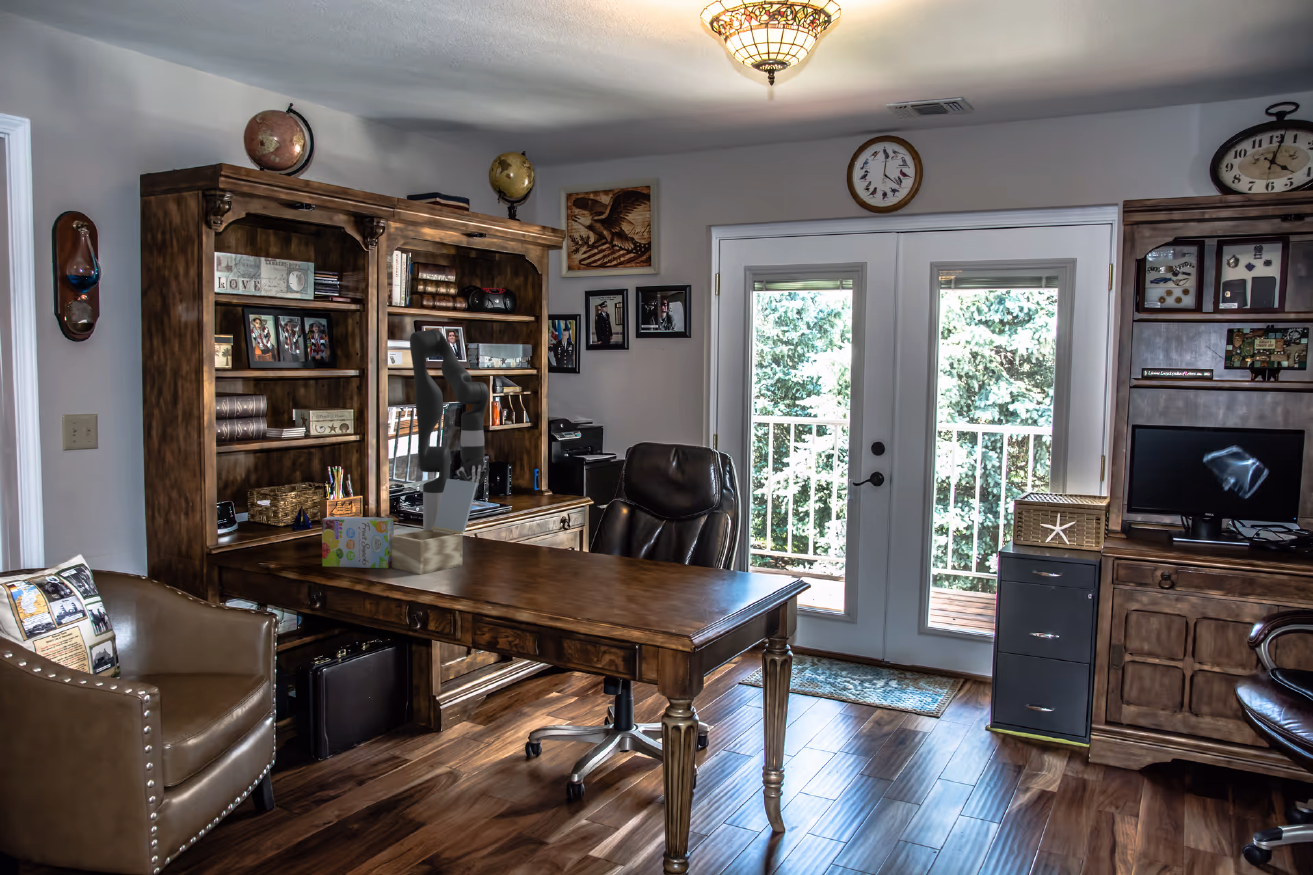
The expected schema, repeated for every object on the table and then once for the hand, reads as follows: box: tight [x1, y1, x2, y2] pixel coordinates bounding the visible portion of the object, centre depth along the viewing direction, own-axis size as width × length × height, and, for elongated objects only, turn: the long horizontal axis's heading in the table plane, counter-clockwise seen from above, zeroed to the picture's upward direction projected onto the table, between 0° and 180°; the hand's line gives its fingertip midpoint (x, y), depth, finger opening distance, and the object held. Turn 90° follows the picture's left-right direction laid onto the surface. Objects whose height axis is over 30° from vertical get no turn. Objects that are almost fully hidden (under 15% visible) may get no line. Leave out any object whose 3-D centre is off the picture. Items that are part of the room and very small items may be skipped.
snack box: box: [321, 516, 395, 569], centre depth 289 cm, size 21×6×15 cm, turn 84°
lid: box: [432, 478, 478, 536], centre depth 296 cm, size 17×14×1 cm
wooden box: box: [391, 529, 464, 575], centre depth 289 cm, size 16×14×10 cm
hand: (472, 497), depth 302 cm, fingers closed
